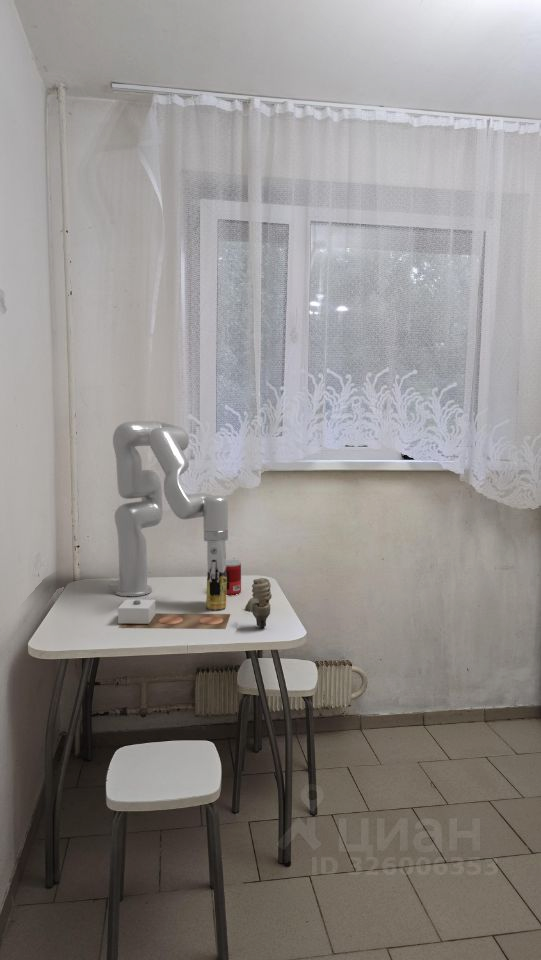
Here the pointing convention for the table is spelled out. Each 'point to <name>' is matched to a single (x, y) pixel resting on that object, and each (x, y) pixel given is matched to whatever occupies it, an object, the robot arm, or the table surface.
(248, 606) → the beige rounded lump
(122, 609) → the block
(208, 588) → the sauce bottle
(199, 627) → the board
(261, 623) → the light bulb
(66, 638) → the table surface
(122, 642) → the table surface
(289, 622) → the table surface
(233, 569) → the canned food
